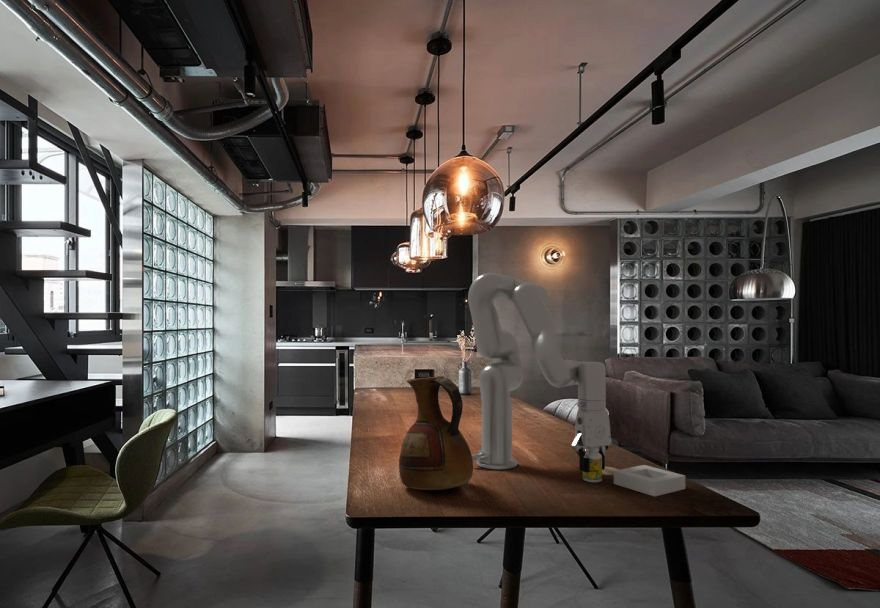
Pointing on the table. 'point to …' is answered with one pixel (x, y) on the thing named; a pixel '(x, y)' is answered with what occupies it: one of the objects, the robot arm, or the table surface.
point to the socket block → (649, 480)
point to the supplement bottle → (594, 466)
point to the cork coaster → (609, 471)
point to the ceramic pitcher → (435, 441)
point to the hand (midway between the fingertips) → (592, 469)
